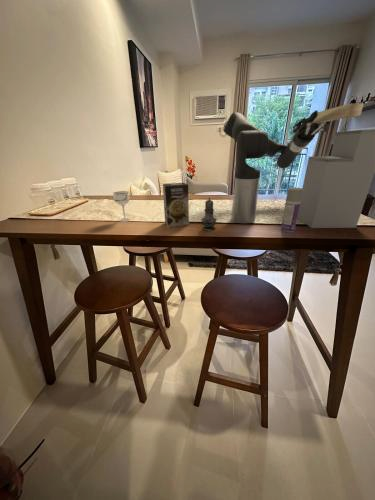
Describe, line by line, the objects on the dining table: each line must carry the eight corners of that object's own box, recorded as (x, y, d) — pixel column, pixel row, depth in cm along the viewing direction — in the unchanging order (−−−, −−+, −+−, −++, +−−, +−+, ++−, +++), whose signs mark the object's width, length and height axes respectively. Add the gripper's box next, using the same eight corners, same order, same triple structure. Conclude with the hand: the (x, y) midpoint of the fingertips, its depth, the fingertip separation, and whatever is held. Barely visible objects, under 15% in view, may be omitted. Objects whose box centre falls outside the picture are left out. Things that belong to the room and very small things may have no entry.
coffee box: (167, 227, 85) (164, 186, 78) (164, 222, 90) (161, 183, 83) (189, 225, 87) (188, 184, 80) (185, 220, 92) (184, 181, 85)
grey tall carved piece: (215, 231, 79) (216, 199, 74) (200, 231, 80) (200, 199, 75) (217, 226, 84) (218, 196, 79) (202, 225, 86) (202, 195, 80)
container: (290, 227, 81) (298, 187, 74) (296, 232, 77) (306, 189, 70) (278, 228, 81) (285, 187, 74) (284, 232, 77) (291, 190, 70)
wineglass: (127, 222, 92) (122, 194, 86) (114, 221, 94) (108, 194, 88) (135, 218, 97) (132, 191, 92) (123, 217, 99) (118, 190, 94)
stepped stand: (311, 227, 80) (335, 130, 66) (296, 216, 93) (313, 132, 78) (355, 227, 79) (389, 128, 65) (334, 216, 92) (359, 131, 77)
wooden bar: (346, 115, 62) (349, 103, 61) (308, 123, 84) (310, 114, 82) (360, 115, 62) (363, 103, 61) (319, 122, 84) (321, 113, 82)
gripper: (284, 132, 95) (302, 103, 78) (317, 130, 94) (343, 101, 77) (284, 148, 95) (303, 122, 78) (317, 147, 94) (344, 121, 77)
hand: (323, 112), depth 78 cm, fingers closed on wooden bar, 4 cm apart
